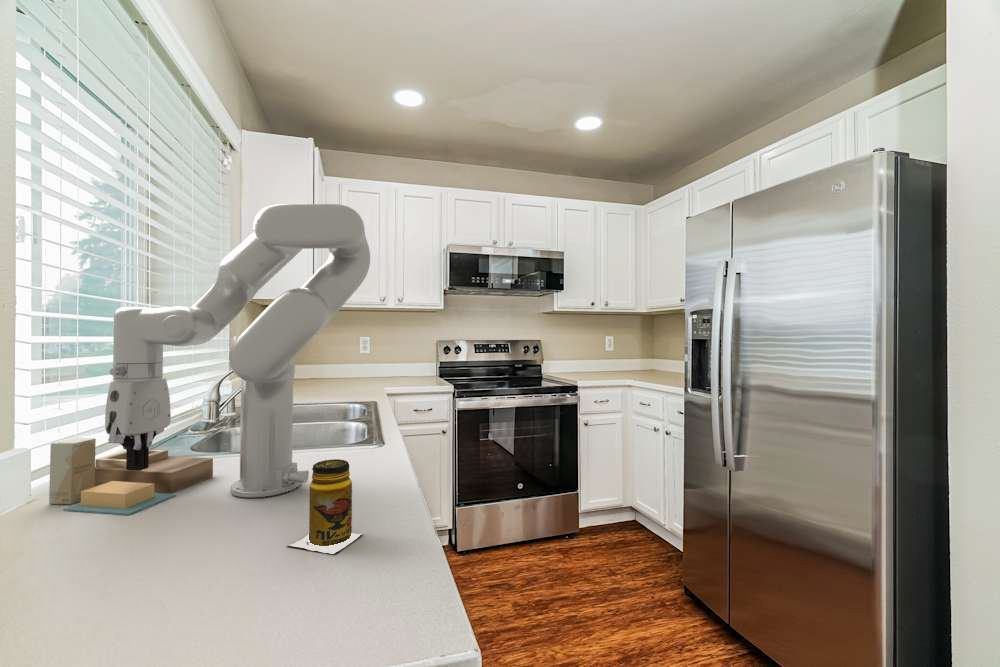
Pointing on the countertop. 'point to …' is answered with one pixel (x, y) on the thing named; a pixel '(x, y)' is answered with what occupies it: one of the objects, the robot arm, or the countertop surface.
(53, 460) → the box
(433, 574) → the countertop surface
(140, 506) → the mat
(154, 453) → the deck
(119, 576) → the countertop surface
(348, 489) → the condiment
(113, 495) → the tan rectangular block
